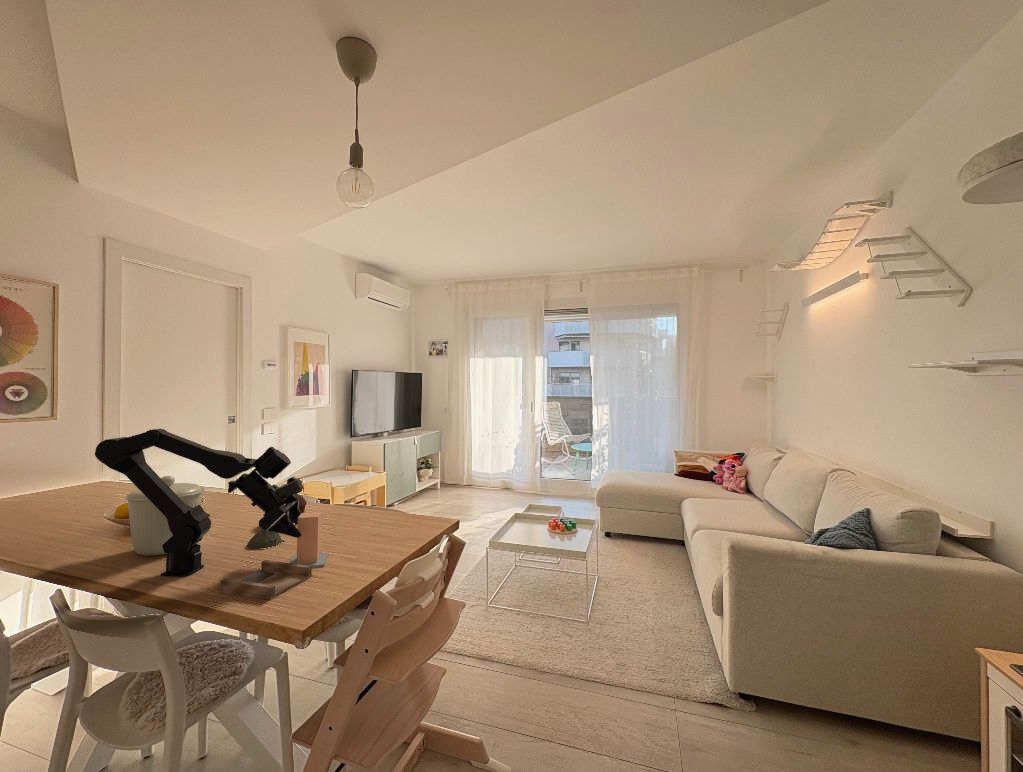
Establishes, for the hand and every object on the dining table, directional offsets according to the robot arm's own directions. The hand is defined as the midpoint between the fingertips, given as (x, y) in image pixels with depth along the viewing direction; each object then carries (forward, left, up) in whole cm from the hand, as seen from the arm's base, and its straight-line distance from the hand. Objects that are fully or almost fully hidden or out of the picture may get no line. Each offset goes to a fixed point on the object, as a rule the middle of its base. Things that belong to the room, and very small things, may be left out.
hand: (303, 531), depth 116 cm
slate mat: (+1, 0, -8) cm, 8 cm away
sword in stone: (-18, +13, -9) cm, 24 cm away
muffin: (-23, +35, -9) cm, 43 cm away
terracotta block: (+1, 0, -8) cm, 8 cm away
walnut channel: (-2, -14, -8) cm, 16 cm away
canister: (-44, +7, -9) cm, 45 cm away
